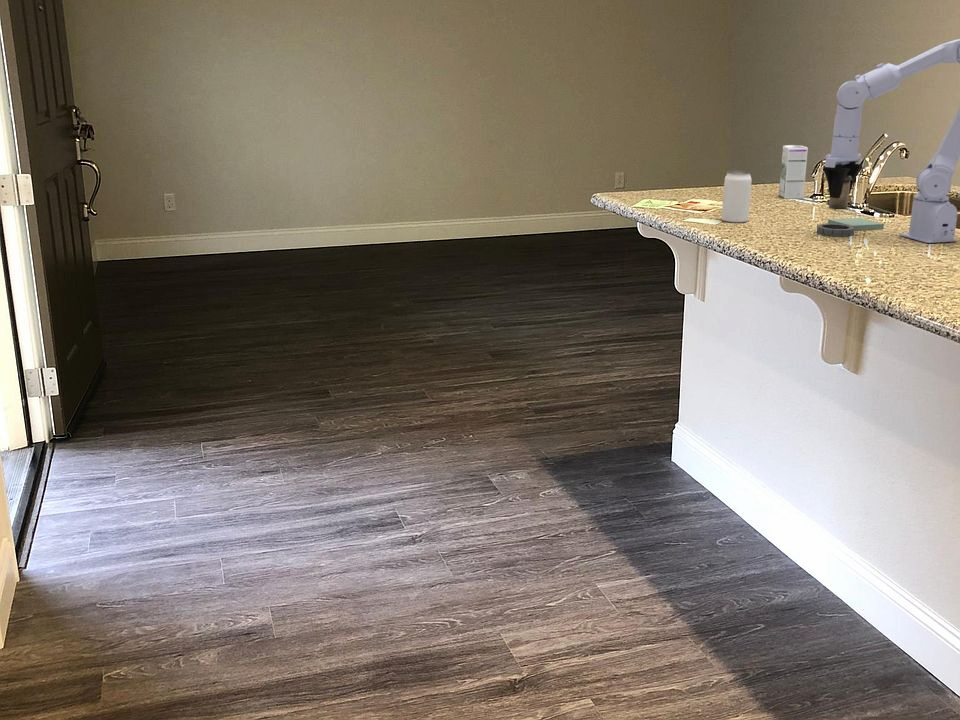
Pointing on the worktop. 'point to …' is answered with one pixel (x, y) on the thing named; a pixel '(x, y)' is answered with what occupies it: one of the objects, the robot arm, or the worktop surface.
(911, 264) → the worktop surface
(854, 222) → the pad
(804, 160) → the syrup box
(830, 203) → the hook peg
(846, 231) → the collar
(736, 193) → the can
